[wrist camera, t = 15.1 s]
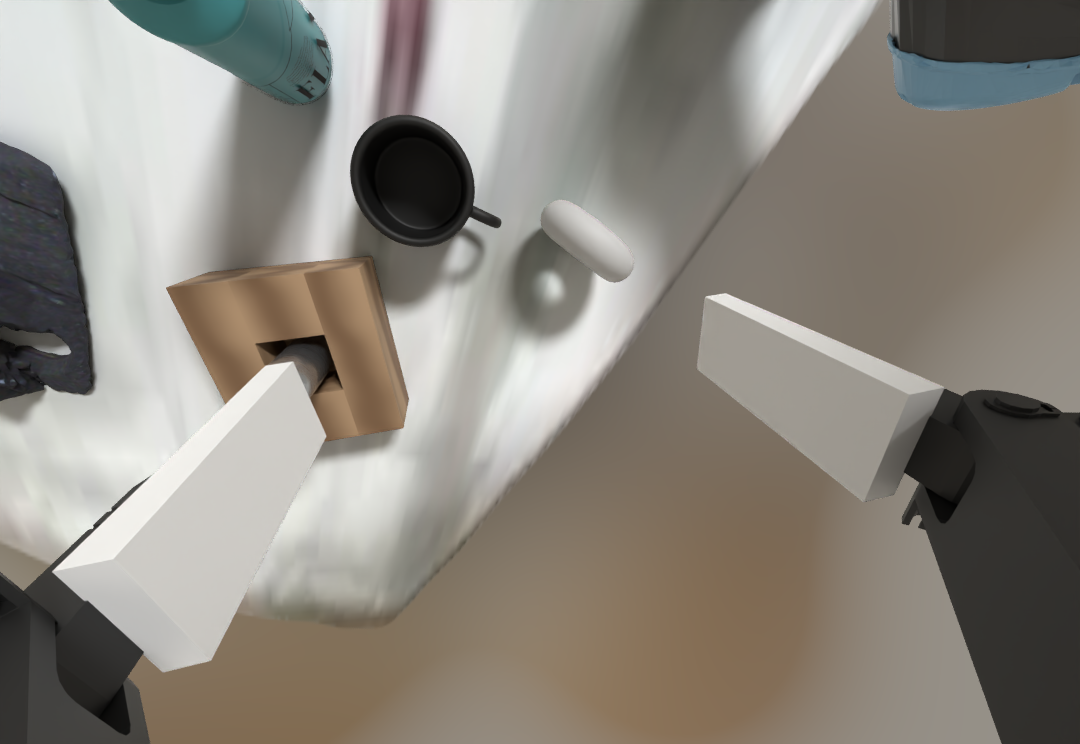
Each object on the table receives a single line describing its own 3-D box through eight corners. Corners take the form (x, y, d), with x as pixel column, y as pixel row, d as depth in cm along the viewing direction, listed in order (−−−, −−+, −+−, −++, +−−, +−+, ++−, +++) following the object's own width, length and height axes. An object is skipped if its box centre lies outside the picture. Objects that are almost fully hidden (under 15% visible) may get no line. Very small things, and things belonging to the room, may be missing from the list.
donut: (524, 220, 38) (547, 231, 29) (544, 189, 37) (574, 191, 28) (596, 276, 42) (635, 300, 33) (615, 250, 41) (661, 267, 33)
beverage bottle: (329, 126, 32) (181, 52, 14) (236, 80, 29) (-84, -79, 12) (350, 38, 29) (206, -179, 12) (251, -20, 27) (-112, -398, 10)
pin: (333, 326, 37) (271, 397, 25) (345, 362, 39) (293, 445, 27) (290, 331, 37) (204, 406, 24) (304, 367, 39) (231, 454, 26)
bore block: (371, 256, 36) (358, 267, 31) (408, 398, 44) (403, 428, 38) (209, 272, 34) (165, 287, 29) (276, 419, 41) (251, 454, 36)
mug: (355, 212, 35) (335, 217, 28) (383, 105, 32) (367, 85, 25) (479, 264, 39) (485, 279, 33) (513, 174, 36) (527, 172, 30)
